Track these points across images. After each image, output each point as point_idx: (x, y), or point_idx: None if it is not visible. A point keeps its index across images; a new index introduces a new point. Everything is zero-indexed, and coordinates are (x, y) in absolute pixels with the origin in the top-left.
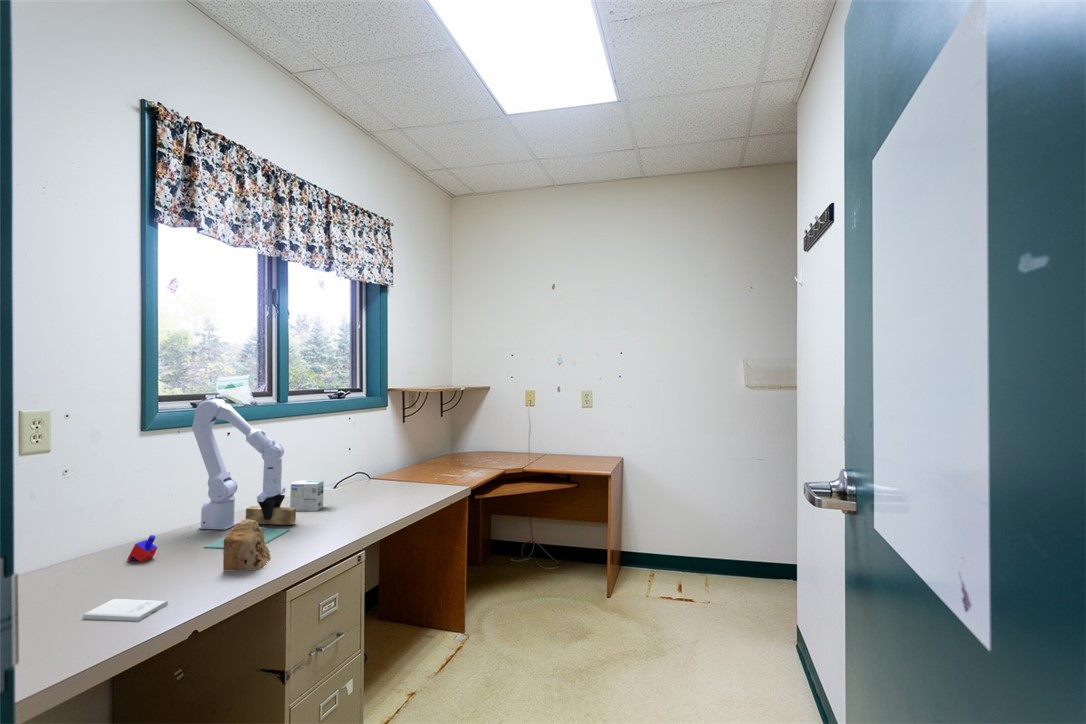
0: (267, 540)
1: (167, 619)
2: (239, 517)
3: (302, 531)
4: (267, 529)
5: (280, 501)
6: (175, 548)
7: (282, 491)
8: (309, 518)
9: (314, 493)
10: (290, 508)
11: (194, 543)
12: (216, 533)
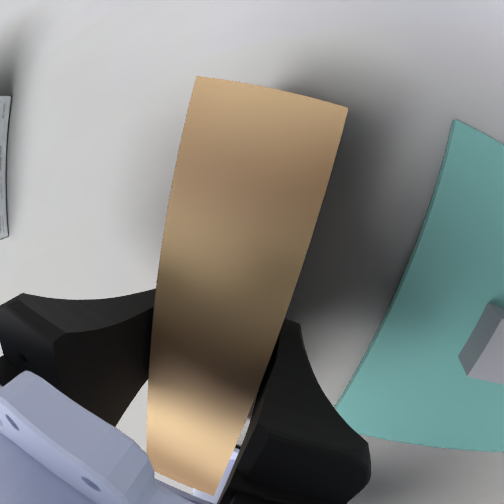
0: None
1: None
2: None
3: (478, 34)
4: (424, 293)
5: (104, 324)
6: (488, 500)
7: (14, 425)
8: (121, 62)
9: None
10: (233, 139)
11: (469, 489)
12: None
